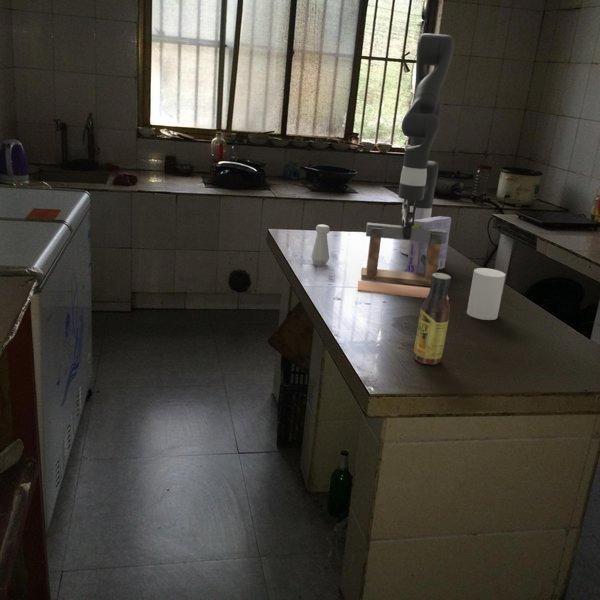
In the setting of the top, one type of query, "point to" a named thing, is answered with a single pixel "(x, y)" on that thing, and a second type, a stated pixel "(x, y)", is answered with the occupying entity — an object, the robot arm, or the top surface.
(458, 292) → the top surface
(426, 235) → the rail
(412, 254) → the cake pan box
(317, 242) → the salt shaker
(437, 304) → the sauce bottle
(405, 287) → the mat
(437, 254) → the rack
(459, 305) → the top surface
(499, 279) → the cup
